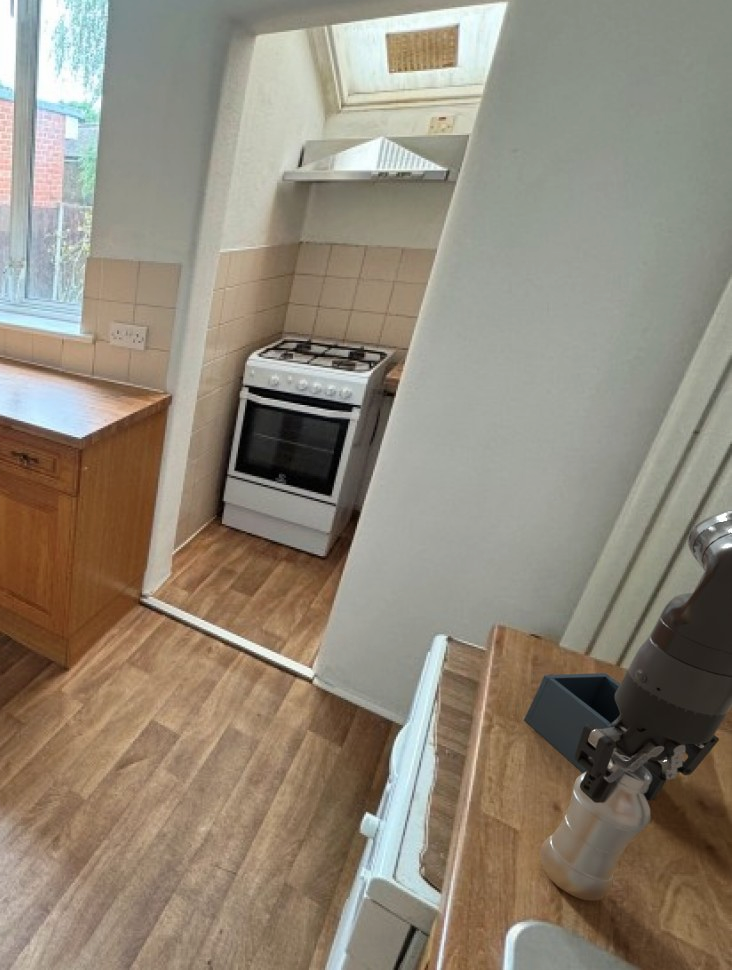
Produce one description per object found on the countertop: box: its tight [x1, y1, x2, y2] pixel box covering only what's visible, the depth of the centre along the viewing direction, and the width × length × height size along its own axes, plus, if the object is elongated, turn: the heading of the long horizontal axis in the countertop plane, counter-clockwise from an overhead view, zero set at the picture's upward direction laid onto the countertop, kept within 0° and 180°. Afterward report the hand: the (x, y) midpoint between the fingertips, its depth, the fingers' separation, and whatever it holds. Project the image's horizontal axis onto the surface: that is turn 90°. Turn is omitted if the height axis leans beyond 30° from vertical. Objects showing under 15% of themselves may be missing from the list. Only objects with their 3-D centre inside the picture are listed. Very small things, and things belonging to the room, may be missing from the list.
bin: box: [523, 672, 647, 774], centre depth 95 cm, size 11×11×10 cm
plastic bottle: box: [539, 755, 652, 902], centre depth 73 cm, size 6×7×20 cm
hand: (615, 794), depth 71 cm, fingers closed on plastic bottle, 5 cm apart
